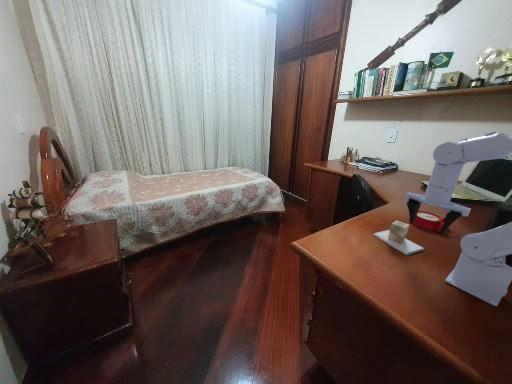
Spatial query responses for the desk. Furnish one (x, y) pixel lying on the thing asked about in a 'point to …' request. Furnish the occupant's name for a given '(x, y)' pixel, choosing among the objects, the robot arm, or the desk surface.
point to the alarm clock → (429, 221)
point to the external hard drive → (404, 247)
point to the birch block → (398, 231)
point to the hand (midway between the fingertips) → (426, 228)
